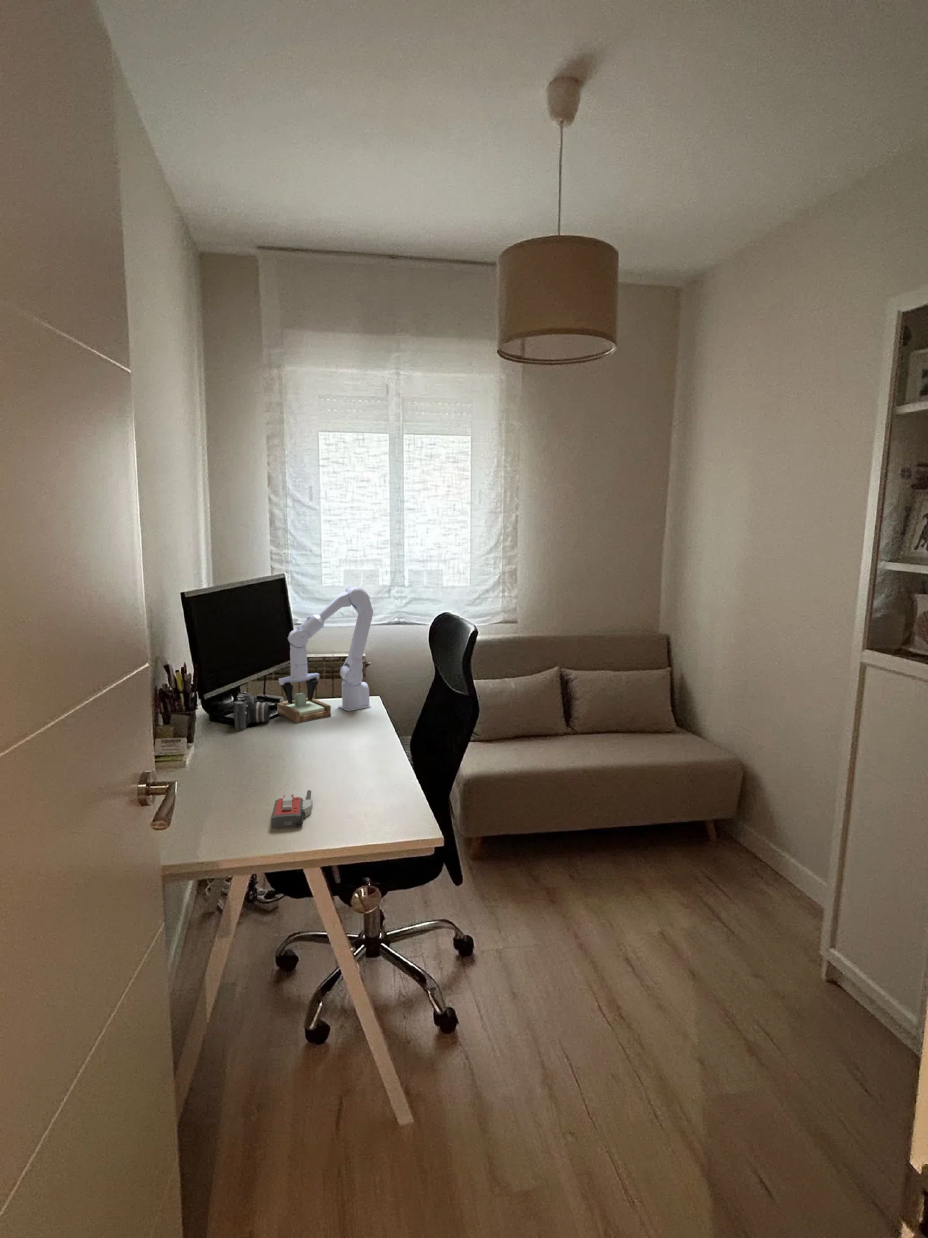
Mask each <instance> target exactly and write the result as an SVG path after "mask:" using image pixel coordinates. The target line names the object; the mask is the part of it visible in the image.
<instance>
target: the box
mask: <svg viewBox="0 0 928 1238" xmlns="http://www.w3.org/2000/svg"><path fill="white" fill-rule="evenodd" d="M307 701H310V702H312V703H315V704H317V705H319V706H322V707H324V708H325V711H320V712H314V713H309V714H304V715H300V714H299V711H297V710H295V709H293V708H291V707H288V706H286V705H290V704H289V703H288V701H284V702H279V703H278V702H277V703H276V706H277V711H276V712H277V714H278V715H279V716H281V717H283V718H285V719H288V720H289V721H292V722H293V723H295V724H298V723H304V722H308V721H309V722H310V721H312V720H313V721H315V720H319V719H324V718H328V717H331V716H332V709H331V705H330V704H328V703H325V702H323V701H320V700H318V699H316V698H313V699H312V700H308V697H306V702H307ZM292 704H295V699H294V700H293V702H292Z"/></svg>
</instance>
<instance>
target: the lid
mask: <svg viewBox="0 0 928 1238" xmlns="http://www.w3.org/2000/svg"><path fill="white" fill-rule="evenodd" d="M293 696H294V697H293V699H294V700H295V704H290V705H286V706H288V707H291V708H293V709H295V710H297V711H299V714H300V715H304V714H309V713H314V712H320V711H325V708H324V707H322V706H319V705H317V704H315V703H312V702H310V701H307V702H306V698H307V694H306V693H304V692H300V693H295V694H294V695H293Z"/></svg>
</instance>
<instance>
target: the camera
mask: <svg viewBox="0 0 928 1238" xmlns="http://www.w3.org/2000/svg"><path fill="white" fill-rule="evenodd" d="M255 699H256V698H255V697H254V696H253V695H251V694H250V693H249V692H248V691H242V692H241V693H240V694H238V695H237V696H236V700H235V701H233V707H234V708H233V710H234V714H233V715H234V729H235V730H236V731H245V730H246V728H247V727H248V724H250V723H258V724H259V722H260V723H265V722H268V721H269V720H270V718H271V717H270V716H271V707H270V704H269V703H266V702H259V701H257V702H255V701H256V700H255Z"/></svg>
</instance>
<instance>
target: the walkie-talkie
mask: <svg viewBox="0 0 928 1238" xmlns="http://www.w3.org/2000/svg"><path fill="white" fill-rule="evenodd" d="M311 797H312V790H310V789H308V790H307V791H306V799H304V798H302V797H300V796H297V797H294V794H284V795H283V797H282V798H278V799H276V800H275V801H274V805H273V811H272V814H271V828H272V829H274V830H277V829H291V828H299V827H301V826H302V825H303V823H304V818H306V817H308V816H309V815H311V814H312V811H313V806H314V805H313V799H312V798H311Z"/></svg>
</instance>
